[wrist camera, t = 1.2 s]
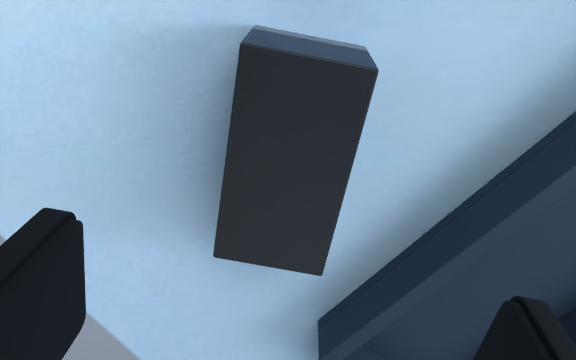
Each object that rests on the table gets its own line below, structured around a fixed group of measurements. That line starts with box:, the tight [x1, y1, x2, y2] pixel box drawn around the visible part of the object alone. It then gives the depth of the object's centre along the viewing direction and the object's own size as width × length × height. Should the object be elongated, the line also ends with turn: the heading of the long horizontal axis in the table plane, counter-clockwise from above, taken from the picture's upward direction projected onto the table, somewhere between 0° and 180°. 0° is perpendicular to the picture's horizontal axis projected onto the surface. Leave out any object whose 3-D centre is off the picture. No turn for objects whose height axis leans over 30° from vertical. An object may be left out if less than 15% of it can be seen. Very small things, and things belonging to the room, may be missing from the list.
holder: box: [318, 112, 576, 360], centre depth 19 cm, size 9×20×2 cm, turn 140°
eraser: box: [213, 25, 379, 276], centre depth 16 cm, size 4×8×4 cm, turn 170°
